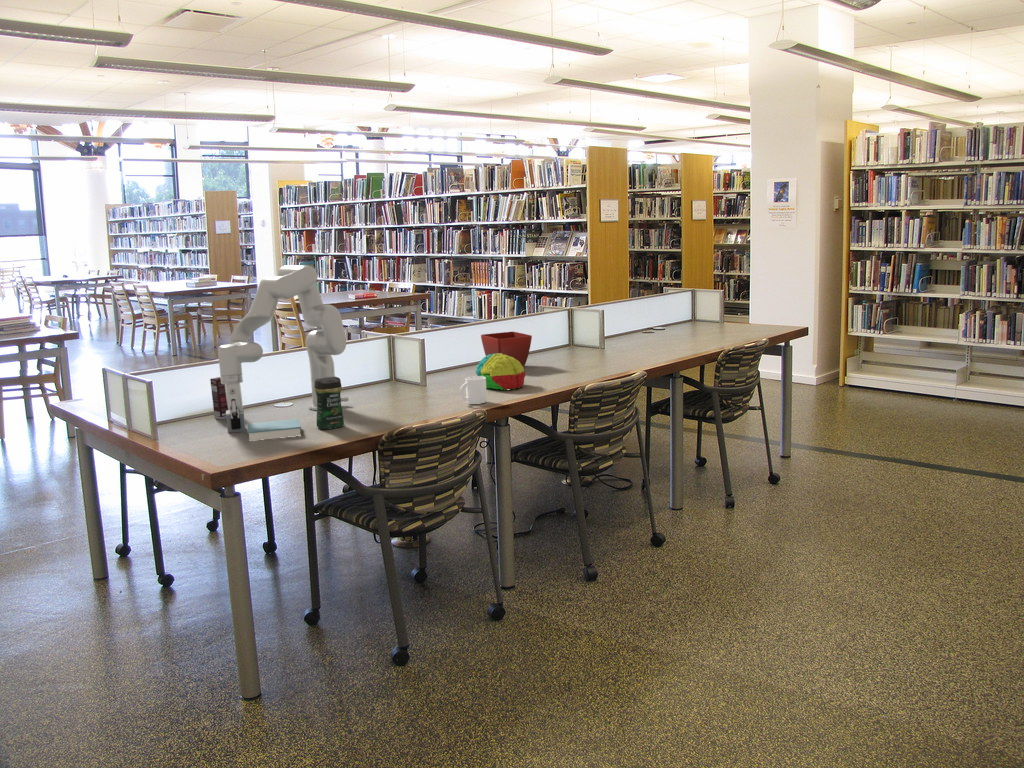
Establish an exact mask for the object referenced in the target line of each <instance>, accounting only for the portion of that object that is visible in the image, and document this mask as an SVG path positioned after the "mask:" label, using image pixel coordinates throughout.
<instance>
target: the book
mask: <svg viewBox="0 0 1024 768" xmlns="http://www.w3.org/2000/svg"><path fill="white" fill-rule="evenodd" d="M246 426H247V429H246V430H247V434H248V433H249V440H250V441H253V442H255V441H254V440H261V439H271V438H280V437H288V436H296V435H300V432H301V429H302V426H301V422H300V418H293V419H284V420H283V419H282V420H272V421H262V422H250V423H247V425H246Z"/></svg>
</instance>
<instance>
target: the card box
mask: <svg viewBox="0 0 1024 768" xmlns="http://www.w3.org/2000/svg"><path fill="white" fill-rule="evenodd" d="M239 418H240V424H241V429H233V430H232V428H231V410H230V411H229V410H227V411H226V418H225V419H226V425H227V427H226V428H227V433H228V434H231V433H238V432H246V421H245V419H246V418H245V409H244V408H243V409H242V410H241V409H239ZM230 432H231V433H230Z"/></svg>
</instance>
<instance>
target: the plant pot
mask: <svg viewBox="0 0 1024 768" xmlns="http://www.w3.org/2000/svg"><path fill="white" fill-rule="evenodd" d="M532 336H533V335H531V334H526V333H523V332H522V333H521V332H517V331H506V332H505V331H504V332H503V331H502V332H495V333H494V332H493V333H484V334H480V339H481V345H482V347H483V351H484V355H485V357H486V356H487V355H490V354H496V353H499V354H500V353H502V354H503V355H507V356H509V357H513V358H514V359H516V360H518V361H519V362H520V363H521V365H522V366H523V368H525V366H526V363H527V360H528V358H529V354H530V349H531V345H532V338H533V337H532Z"/></svg>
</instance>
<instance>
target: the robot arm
mask: <svg viewBox="0 0 1024 768" xmlns="http://www.w3.org/2000/svg"><path fill="white" fill-rule="evenodd" d="M317 280H318V274H317V270H316V269H315V268H314V267H312V266H311V265H306V264H305V265H304V264H301V265H300V264H287V265H286V264H285V265H283V266H281V267H279V269H278V271H277V275H269V276H265V277H263V278H262V279H261V280H260V281H259V284H258V287H257V290H256V292H255V295H254V296H253V297H254V298H253V299H252V303H251V306H250V308H249V311H248V313H246V315H245V316H243V318H241V320H240V321H239V322H238V323H237V324H236V326H235V327H234V329H232V332H231V335H230V338H229V341H228V344H227V343H226V344H222V345H220V346H218V348H217V353H218V354H217V355H218V363H219V365H218V366H219V375H220V376H219V377H221V384H225V391H226V399H227V405H228V410H229V411H230V410H231V428H232V430H233V429H241V424H240V418H239V409H241V410H242V409H244V407H243V396H242V395H243V394H242V385H241V383H243V382H244V380H243V379H244V378H243V377H244V376H243V370H242V369H243V367H242V366H243V365H242V363H255V362H257V361H259V360H261V358H262V357H263V356H264V349H263V347H262V346H261V344H259V343H257V342H256V341H249V340H250V338H251V336H252V335H253V334H254V333H255V331H257V330H258V329H260V328H262V327H263V326H265V325H267V324H268V323H270V322H271V321H272V319H273V317H274V313H275V311H276V308H277V305H278V302H279V301H280V300H288V299H292V298H294V297H295V296H297V298H298V303H299V306H300V309H301V315H302V318H303V321H304V324H305V325H306V326H307V327H309V328H313V330H312V331H310V332H309V333H308V334H307V335H306V337H305V348H306V352H307V354H308V355H307V356H308V361H309V371H310V383H311V398H312V403H311V404H309V405H308V407H309V409H310V410H311V409H312V411H317V395H316V392H315V390H314V385H315V379H319V378H326V377H336V373H335V362H334V358H333V356H338V355H342V354H343V353H345V350H346V346H347V338H346V333H345V329H344V324H343V319H342V316H341V312H340V311H339V310H338V308H337V307H336V306H334V305H332V304H327V303H326V304H324V303H323V300H322V296H321V293H320V289H319V288H318V286H317V284H316V283H317ZM314 328H315V330H314ZM340 398H341V403H343V402H349V396H345V395H344V396H340Z"/></svg>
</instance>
